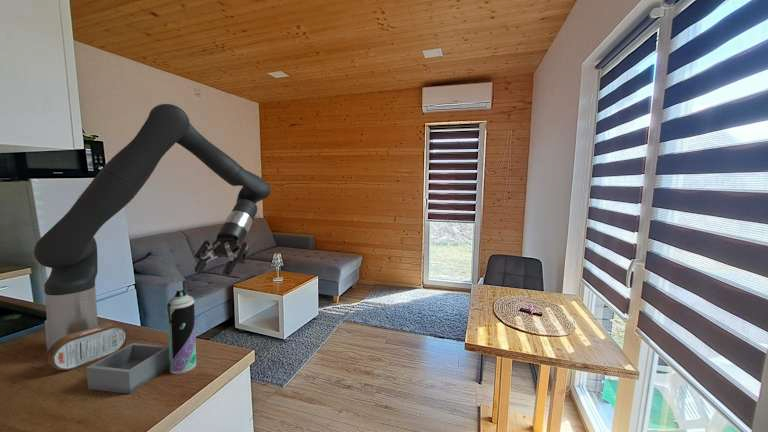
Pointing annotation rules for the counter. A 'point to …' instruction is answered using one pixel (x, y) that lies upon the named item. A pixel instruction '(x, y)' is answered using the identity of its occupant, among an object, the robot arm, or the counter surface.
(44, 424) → the counter surface
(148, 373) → the box
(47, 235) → the robot arm
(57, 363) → the tin
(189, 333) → the spray can
